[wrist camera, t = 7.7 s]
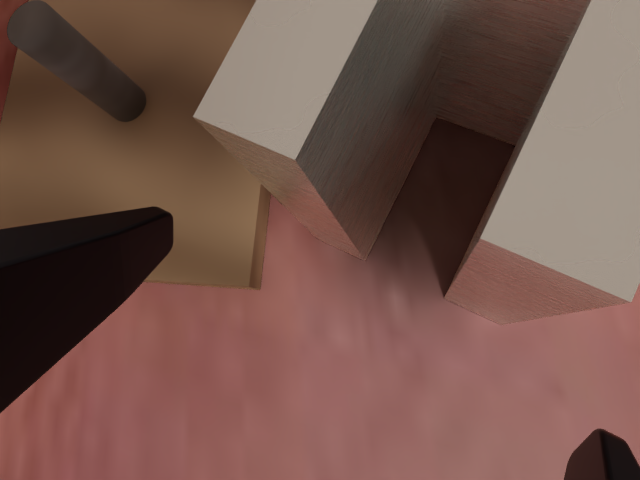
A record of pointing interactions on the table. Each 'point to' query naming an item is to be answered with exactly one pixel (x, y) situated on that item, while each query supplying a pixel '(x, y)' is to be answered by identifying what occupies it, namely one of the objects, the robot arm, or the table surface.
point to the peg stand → (130, 129)
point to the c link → (459, 108)
